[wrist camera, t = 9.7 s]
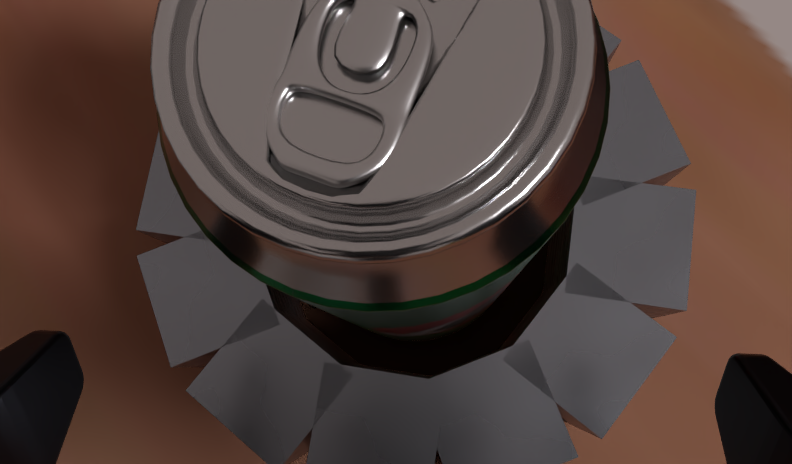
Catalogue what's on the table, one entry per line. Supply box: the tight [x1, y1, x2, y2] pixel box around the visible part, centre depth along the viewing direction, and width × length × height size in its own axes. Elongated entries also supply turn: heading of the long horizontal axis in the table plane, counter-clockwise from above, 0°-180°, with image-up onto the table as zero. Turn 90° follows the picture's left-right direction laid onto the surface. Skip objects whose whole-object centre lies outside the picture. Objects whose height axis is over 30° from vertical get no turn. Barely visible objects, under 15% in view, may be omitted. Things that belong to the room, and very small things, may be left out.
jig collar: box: [136, 26, 696, 464], centre depth 17 cm, size 12×12×4 cm
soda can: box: [150, 0, 610, 341], centre depth 12 cm, size 5×5×12 cm
